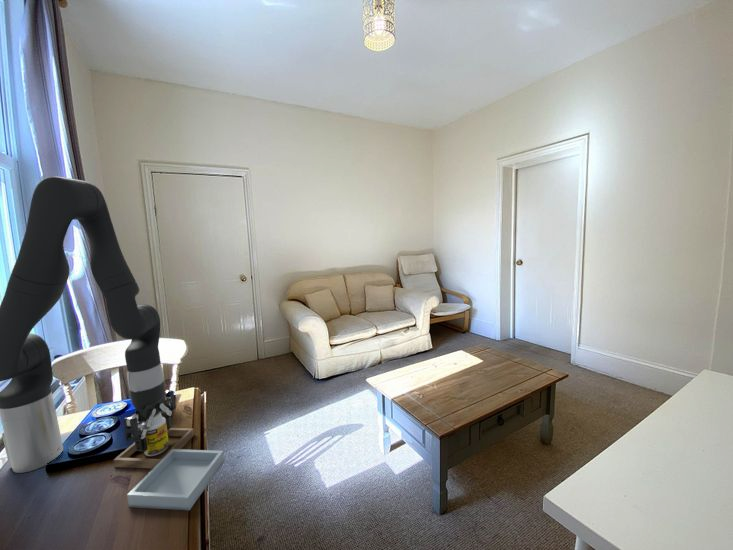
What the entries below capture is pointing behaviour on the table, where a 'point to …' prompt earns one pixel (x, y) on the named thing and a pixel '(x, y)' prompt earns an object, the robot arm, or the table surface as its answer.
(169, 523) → the table surface
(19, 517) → the table surface
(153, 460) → the corral
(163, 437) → the supplement bottle
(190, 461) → the bin
